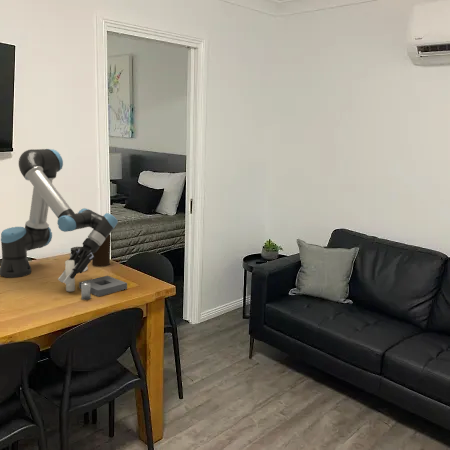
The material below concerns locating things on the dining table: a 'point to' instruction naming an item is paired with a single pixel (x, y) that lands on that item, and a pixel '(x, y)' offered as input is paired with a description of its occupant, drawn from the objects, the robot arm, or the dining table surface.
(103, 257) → the olive oil
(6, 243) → the robot arm
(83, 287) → the short pin
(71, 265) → the long pin
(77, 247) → the jar
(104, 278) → the hole plate
